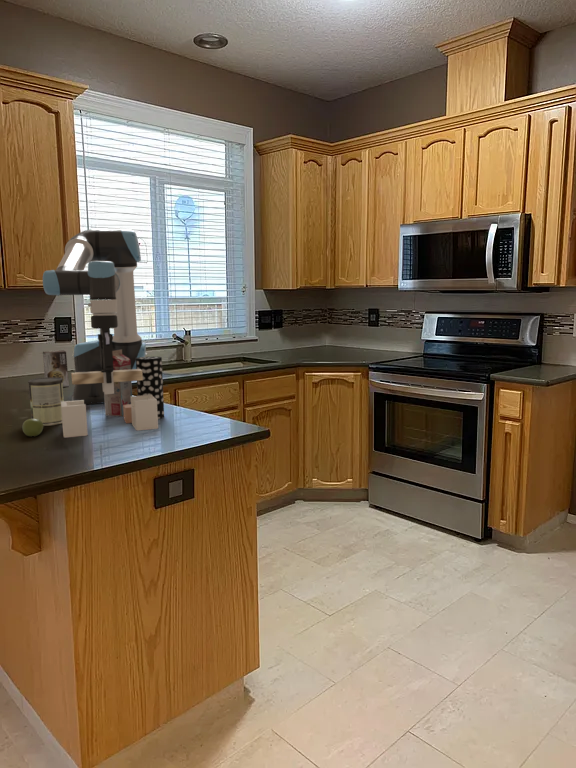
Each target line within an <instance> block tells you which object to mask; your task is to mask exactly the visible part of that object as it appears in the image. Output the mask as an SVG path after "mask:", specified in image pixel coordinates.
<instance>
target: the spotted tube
mask: <svg viewBox="0 0 576 768" xmlns="http://www.w3.org/2000/svg"><path fill="white" fill-rule="evenodd" d="M162 360H163V358H162V356H152V355H151V356H147V357H138V358H136V369H141V370H142V375H143V380H139V381H136V388H137V389H136V391H137V396H142V395H152V396H153V397H155V398H156V399H157V413H158V420H159V419H160V420H161V419H163V418H165V402H164V379H163V361H162Z"/></svg>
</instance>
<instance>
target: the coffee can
mask: <svg viewBox="0 0 576 768" xmlns="http://www.w3.org/2000/svg"><path fill="white" fill-rule="evenodd" d="M62 381H63V378H58V377H47V378H45V377H38V378H37V377H36V378H32V379H28V381H27V383H28V390H29V391H28V392H29V393H28V394H29V400H30V401H29V403H30V414H31V415H30V417H31V418H30V419H33V418H34V419H39V420H41V421H42V423H43V427H45V426H56V425H60V424H62V412H61V402H62V401H65V400H64V399H65V398H64V397H65V396H64V387H63V382H62Z"/></svg>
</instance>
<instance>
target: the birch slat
mask: <svg viewBox="0 0 576 768" xmlns="http://www.w3.org/2000/svg"><path fill="white" fill-rule="evenodd" d="M70 374H71V384H72V385H74V386H75V385H76V384H91V383H104V377H103V373H101V371H94V372H76V373H75V372H71V373H70ZM139 380H143V375H142V370H141V369H130V370H113V381H114V382H123V381H131V382H135V381H136V382H137V381H139Z"/></svg>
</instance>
